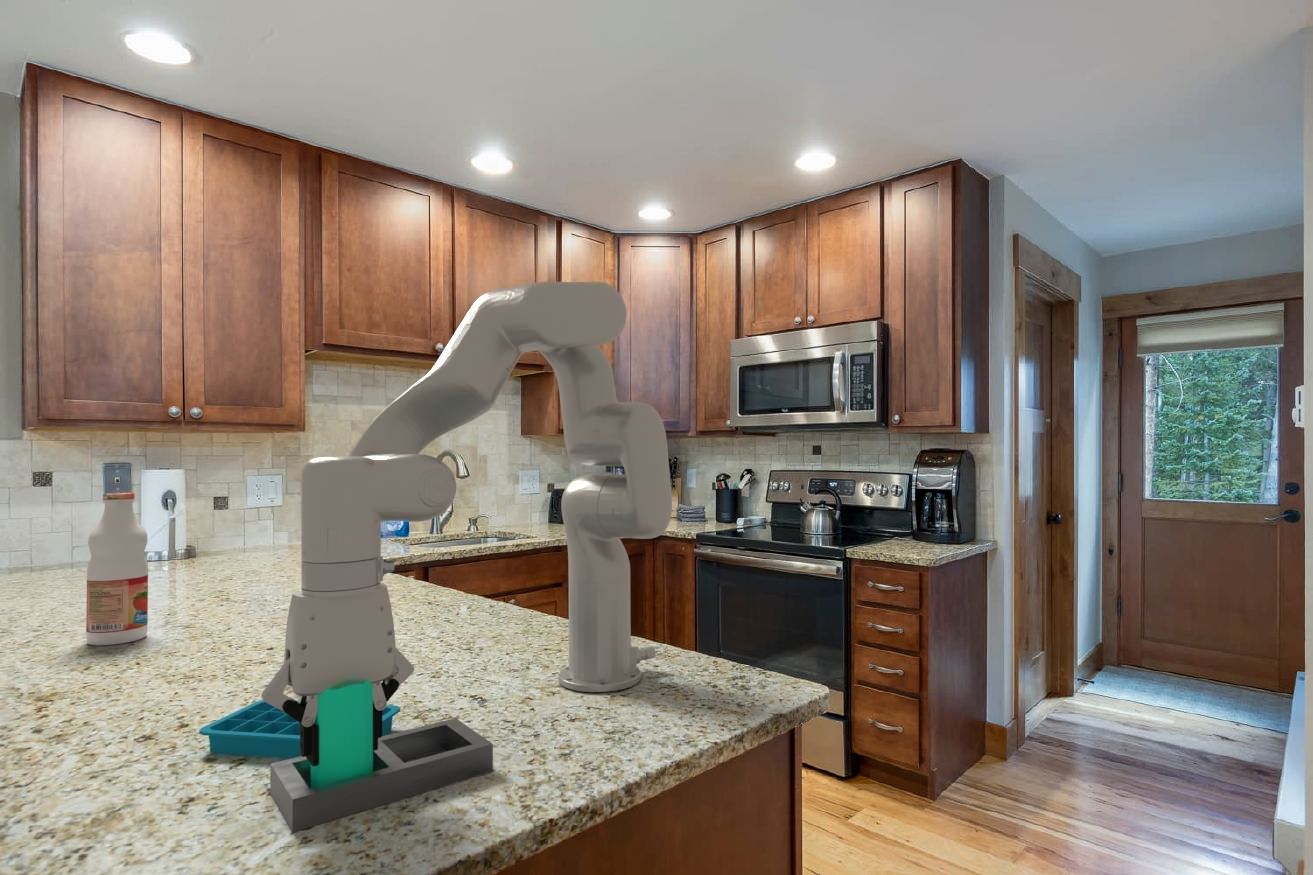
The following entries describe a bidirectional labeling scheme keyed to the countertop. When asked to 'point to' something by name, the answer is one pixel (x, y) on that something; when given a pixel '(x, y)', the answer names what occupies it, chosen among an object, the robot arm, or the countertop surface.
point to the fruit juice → (117, 575)
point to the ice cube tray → (266, 731)
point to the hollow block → (383, 774)
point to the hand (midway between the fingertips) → (342, 751)
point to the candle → (344, 734)
